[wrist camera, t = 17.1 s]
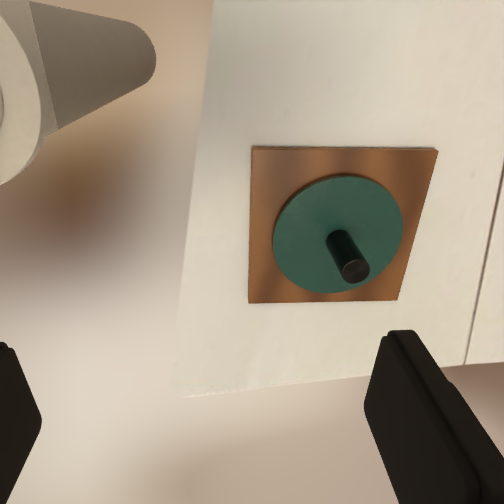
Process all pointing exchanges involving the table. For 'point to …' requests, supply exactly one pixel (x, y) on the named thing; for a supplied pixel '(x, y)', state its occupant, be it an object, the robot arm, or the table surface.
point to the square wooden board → (310, 171)
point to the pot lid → (337, 234)
